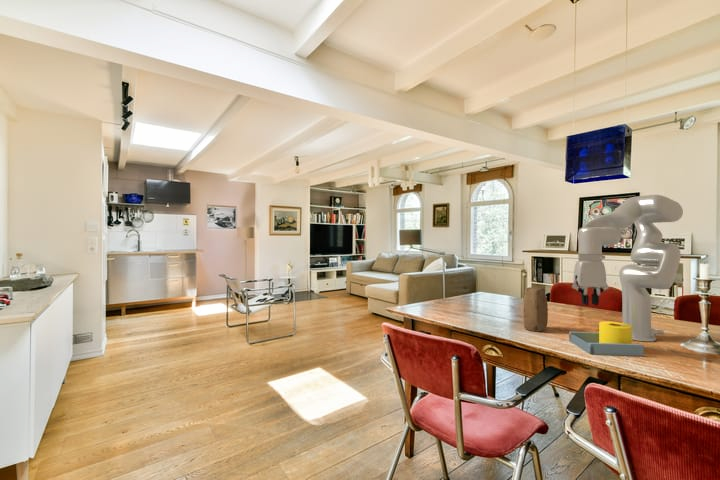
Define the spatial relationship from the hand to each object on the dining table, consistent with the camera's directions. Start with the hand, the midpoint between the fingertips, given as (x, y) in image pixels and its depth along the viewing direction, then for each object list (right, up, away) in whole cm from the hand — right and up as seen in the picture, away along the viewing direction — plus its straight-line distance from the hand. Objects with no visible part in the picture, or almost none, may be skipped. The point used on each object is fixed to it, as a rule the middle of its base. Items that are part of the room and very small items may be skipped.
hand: (590, 304), depth 127 cm
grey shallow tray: (+5, -17, -1) cm, 18 cm away
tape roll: (+9, -17, -1) cm, 20 cm away
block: (-8, -17, +25) cm, 32 cm away
